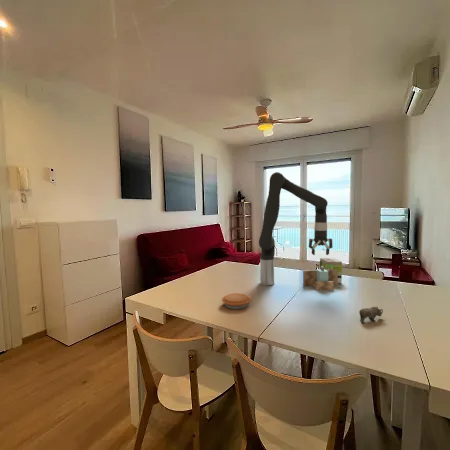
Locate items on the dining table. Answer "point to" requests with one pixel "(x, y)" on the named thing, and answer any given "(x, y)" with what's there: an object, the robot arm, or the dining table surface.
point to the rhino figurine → (370, 313)
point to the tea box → (332, 266)
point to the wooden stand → (311, 280)
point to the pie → (236, 301)
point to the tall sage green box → (322, 274)
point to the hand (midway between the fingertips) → (320, 254)
